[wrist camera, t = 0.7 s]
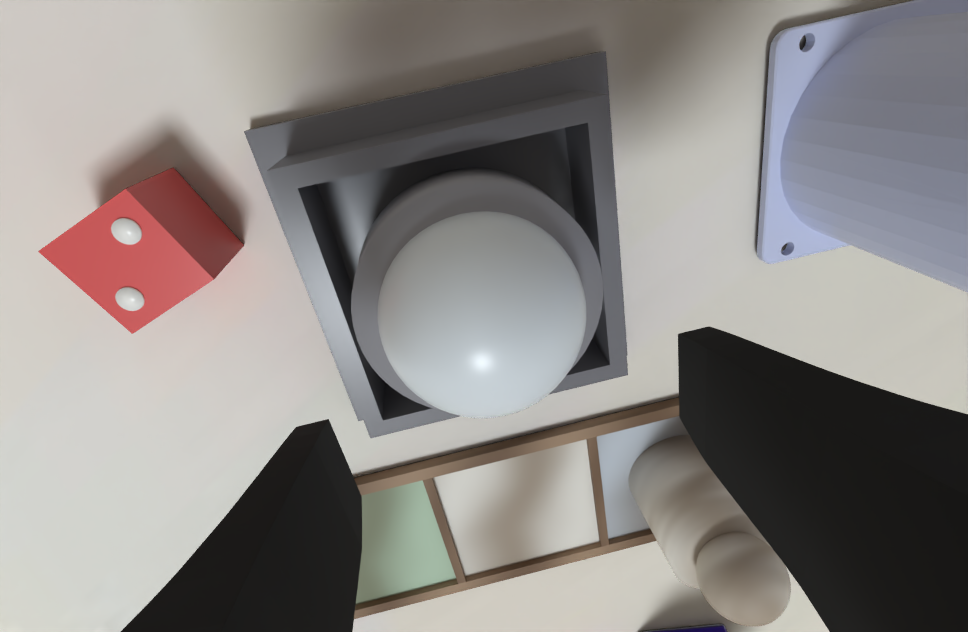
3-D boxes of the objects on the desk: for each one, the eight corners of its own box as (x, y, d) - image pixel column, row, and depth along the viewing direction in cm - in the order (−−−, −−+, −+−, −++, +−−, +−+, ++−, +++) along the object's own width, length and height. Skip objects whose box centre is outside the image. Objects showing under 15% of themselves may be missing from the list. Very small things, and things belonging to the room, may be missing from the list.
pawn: (717, 425, 23) (835, 562, 17) (715, 492, 25) (820, 637, 19) (625, 448, 23) (709, 595, 17) (630, 514, 25) (707, 667, 19)
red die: (173, 167, 16) (123, 189, 13) (244, 245, 17) (212, 280, 14) (99, 220, 16) (36, 252, 13) (174, 292, 17) (131, 334, 14)
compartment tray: (757, 377, 23) (764, 383, 22) (748, 507, 26) (754, 515, 26) (243, 505, 22) (240, 514, 21) (311, 620, 26) (309, 630, 25)
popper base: (598, 52, 16) (638, 49, 13) (621, 347, 21) (653, 389, 18) (249, 129, 15) (217, 142, 13) (359, 411, 20) (352, 463, 18)
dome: (562, 140, 15) (641, 179, 10) (585, 341, 18) (653, 447, 13) (327, 194, 15) (287, 260, 10) (393, 388, 18) (389, 514, 13)
